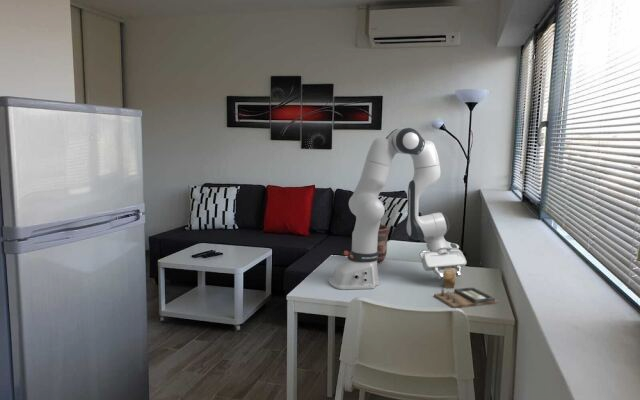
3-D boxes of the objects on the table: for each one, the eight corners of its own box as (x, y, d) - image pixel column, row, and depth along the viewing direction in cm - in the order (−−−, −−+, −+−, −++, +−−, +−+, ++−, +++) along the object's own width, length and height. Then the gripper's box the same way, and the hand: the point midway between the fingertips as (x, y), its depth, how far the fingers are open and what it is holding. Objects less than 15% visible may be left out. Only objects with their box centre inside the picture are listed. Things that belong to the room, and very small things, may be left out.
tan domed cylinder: (447, 289, 205) (448, 270, 204) (441, 285, 209) (442, 267, 208) (456, 288, 207) (457, 270, 205) (450, 284, 211) (451, 267, 210)
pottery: (394, 261, 249) (395, 226, 246) (374, 267, 236) (375, 231, 233) (366, 255, 260) (367, 222, 258) (346, 261, 247) (346, 226, 245)
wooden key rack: (454, 308, 182) (454, 298, 182) (433, 296, 195) (434, 286, 195) (497, 303, 189) (498, 293, 188) (475, 292, 202) (476, 282, 201)
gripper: (421, 247, 209) (432, 275, 201) (461, 244, 215) (473, 271, 208) (415, 254, 214) (426, 282, 206) (454, 251, 220) (466, 278, 212)
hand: (450, 277), depth 207 cm, fingers open, 8 cm apart
